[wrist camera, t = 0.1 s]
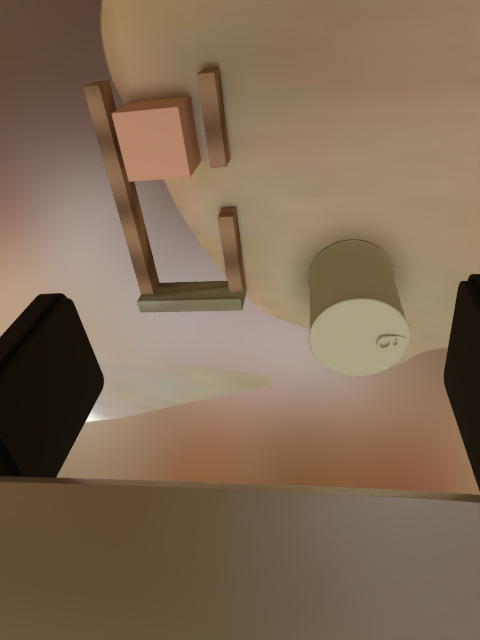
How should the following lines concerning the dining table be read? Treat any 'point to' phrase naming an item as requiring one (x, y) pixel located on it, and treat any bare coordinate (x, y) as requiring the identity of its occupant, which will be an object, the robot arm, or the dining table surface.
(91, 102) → the channel
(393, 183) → the dining table surface
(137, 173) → the block
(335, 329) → the can
